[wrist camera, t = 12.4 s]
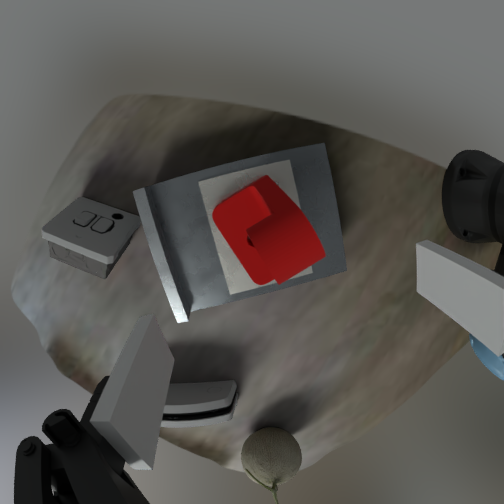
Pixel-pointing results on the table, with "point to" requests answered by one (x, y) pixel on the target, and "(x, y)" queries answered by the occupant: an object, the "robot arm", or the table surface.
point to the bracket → (268, 232)
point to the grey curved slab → (199, 403)
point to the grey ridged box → (212, 241)
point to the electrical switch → (90, 235)
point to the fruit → (271, 457)
